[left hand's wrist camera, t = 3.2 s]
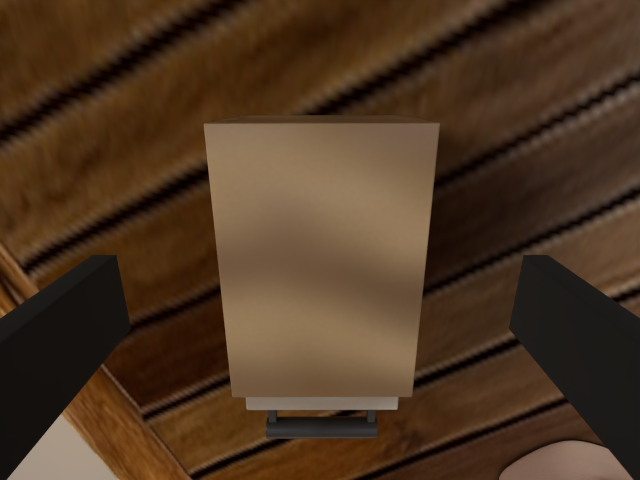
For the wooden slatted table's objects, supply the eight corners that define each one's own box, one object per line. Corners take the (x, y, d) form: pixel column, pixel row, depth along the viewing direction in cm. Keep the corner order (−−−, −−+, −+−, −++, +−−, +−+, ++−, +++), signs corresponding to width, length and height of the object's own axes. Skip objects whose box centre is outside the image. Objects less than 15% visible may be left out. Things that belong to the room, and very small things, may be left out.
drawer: (377, 398, 34) (392, 473, 27) (265, 398, 34) (252, 473, 27) (392, 161, 27) (417, 182, 20) (250, 161, 27) (226, 183, 20)
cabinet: (387, 318, 32) (412, 397, 24) (255, 318, 32) (232, 397, 24) (401, 114, 26) (440, 122, 18) (240, 115, 26) (203, 123, 18)
